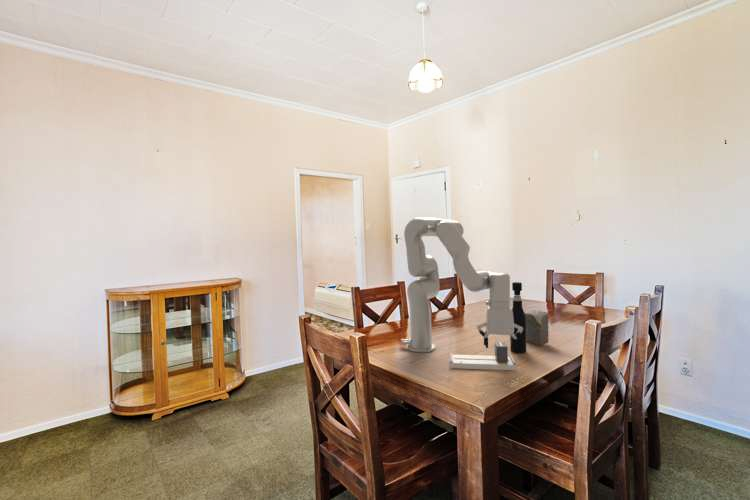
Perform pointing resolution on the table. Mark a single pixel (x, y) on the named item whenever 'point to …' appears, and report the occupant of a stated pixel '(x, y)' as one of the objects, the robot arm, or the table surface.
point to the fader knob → (501, 352)
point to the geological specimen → (537, 326)
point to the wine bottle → (518, 319)
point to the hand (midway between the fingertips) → (499, 347)
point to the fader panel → (481, 362)
